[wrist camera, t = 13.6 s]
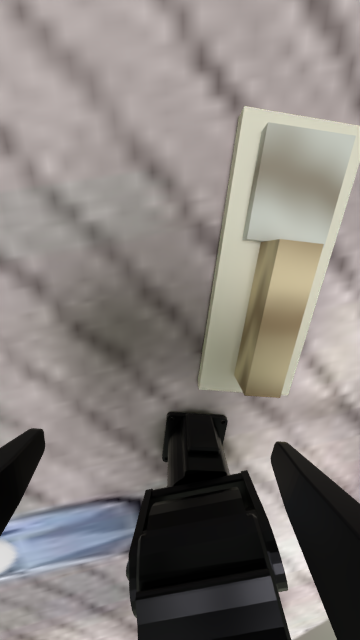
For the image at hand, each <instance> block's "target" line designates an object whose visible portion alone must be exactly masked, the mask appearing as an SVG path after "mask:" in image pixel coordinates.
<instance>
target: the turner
mask: <svg viewBox="0 0 360 640" xmlns="http://www.w3.org/2000/svg"><path fill="white" fill-rule="evenodd" d="M355 138H356V136H354V135H348V134H342V133H335V132H329V131H322V130H316V129H309V128H303V127H296V126H290V125H283V124H277V123H270V122H268V123H267V124H266V126H265V127H264V129H263V130H262V132H261V137H260V143H259V149H258V154H257V160H256V166H255V171H254V177H253V183H252V188H251V194H250V200H249V205H248V211H247V217H246V222H245V228H244V234H243V239H242V240H247V241H256V242H261V244H260V249H259V254H258V259H257V264H256V269H255V274H254V279H253V284H252V289H251V294H250V299H249V304H248V309H247V314H246V319H245V324H244V329H243V333H242V338H241V343H240V348H239V353H238V358H237V363H236V368H235V373H234V376H235V378H236V380H237V382H238V384H239V386H240V388H241V389H242V391H243V393H244V395H245V396H260V397H276V398H280V396H281V393H282V389H283V386H284V382H285V379H286V375H287V372H288V368H289V365H290V361H291V358H292V354H293V351H294V347H295V344H296V340H297V337H298V333H299V330H300V326H301V323H302V319H303V315H304V312H305V308H306V305H307V301H308V298H309V294H310V291H311V287H312V284H313V280H314V277H315V273H316V270H317V266H318V263H319V259H320V256H321V252H322V249H323V248H324V246H325V242H326V239H327V236H328V232H329V229H330V225H331V222H332V218H333V215H334V211H335V208H336V204H337V201H338V197H339V194H340V190H341V187H342V183H343V180H344V176H345V173H346V169H347V166H348V162H349V159H350V155H351V152H352V148H353V145H354V141H355Z"/></svg>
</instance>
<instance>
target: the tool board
mask: <svg viewBox="0 0 360 640" xmlns="http://www.w3.org/2000/svg"><path fill="white" fill-rule="evenodd" d="M268 122H270V123H277V124H283V125H290V126H296V127H303V128H309V129H316V130H322V131H329V132H335V133H342V134H348V135H354V136H356V138H355V141H354V145H353V148H352V152H351V155H350V159H349V162H348V166H347V169H346V173H345V176H344V180H343V183H342V187H341V190H340V194H339V197H338V201H337V204H336V208H335V211H334V215H333V218H332V222H331V225H330V229H329V232H328V236H327V239H326V242H325V246H324V248H323V249H322V252H321V256H320V259H319V263H318V266H317V270H316V273H315V277H314V280H313V284H312V287H311V291H310V294H309V298H308V301H307V305H306V308H305V312H304V315H303V319H302V323H301V326H300V330H299V333H298V337H297V340H296V344H295V347H294V351H293V354H292V358H291V361H290V365H289V368H288V372H287V375H286V379H285V382H284V386H283V389H282V393H281V395H284V396H288V393H289V390H290V387H291V384H292V380H293V377H294V374H295V371H296V367H297V364H298V361H299V358H300V354H301V351H302V348H303V345H304V341H305V338H306V335H307V332H308V328H309V325H310V322H311V319H312V315H313V312H314V309H315V306H316V302H317V299H318V296H319V293H320V289H321V286H322V283H323V280H324V276H325V273H326V270H327V267H328V263H329V260H330V257H331V254H332V250H333V247H334V244H335V241H336V237H337V234H338V231H339V228H340V224H341V221H342V218H343V215H344V211H345V208H346V205H347V202H348V199H349V195H350V192H351V189H352V186H353V182H354V179H355V176H356V173H357V169H358V166H359V163H360V126H357V125H351V124H346V123H340V122H334V121H328V120H322V119H316V118H311V117H305V116H299V115H293V114H287V113H281V112H276V111H270V110H264V109H258V108H252V107H247V106H244V108H243V110H242V112H241V114H240V116H239V119H238V126H237V132H236V139H235V145H234V151H233V158H232V164H231V171H230V177H229V183H228V190H227V196H226V203H225V209H224V216H223V222H222V228H221V235H220V241H219V248H218V254H217V260H216V267H215V273H214V280H213V286H212V293H211V299H210V305H209V312H208V318H207V325H206V331H205V337H204V344H203V350H202V357H201V363H200V370H199V376H198V387H199V389H200V390H214V391H228V392H242V393H243V391H242V389H241V388H240V386H239V384H238V382H237V380H236V378H235V376H234V373H235V368H236V363H237V358H238V353H239V348H240V343H241V338H242V333H243V329H244V324H245V319H246V314H247V309H248V304H249V299H250V294H251V289H252V284H253V279H254V274H255V269H256V264H257V259H258V254H259V249H260V244H261V242H256V241H247V240H242V239H243V234H244V228H245V222H246V217H247V211H248V205H249V200H250V194H251V188H252V183H253V177H254V171H255V166H256V160H257V154H258V149H259V143H260V137H261V132H262V130H263V129H264V127H265V126H266V124H267V123H268Z"/></svg>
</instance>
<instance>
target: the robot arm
mask: <svg viewBox="0 0 360 640" xmlns="http://www.w3.org/2000/svg"><path fill="white" fill-rule="evenodd" d="M170 417H173V418H170ZM222 420H224V421H222ZM226 427H227V418H226V417H225V416H222V415H206V414H190V413H174V412H171V413H168V414H167V420H166V429H165V438H164V446H163V455H162V459H163V461H164V462H168V479H167V487H166V488H161V489H156V490H153V489H149V490H146V491H145V495H144V499H143V501H142V505H141V508H140V512H139V516H138V520H137V524H136V528H135V532H134V536H133V539H132V543H131V547H130V551H129V561H128V563H127V567H126V576H127V578H128V580H129V591H130V602H131V607H132V611H133V614H134V616H135V617H136V618H137V625H138V640H291V637H290V634H289V630H288V626H287V623H286V619H285V615H284V612H283V608H282V604H281V601H280V597H279V593H278V592H282V591H287V590H288V585H287V580H286V576H285V571H284V568H283V564H282V560H281V557H280V554H279V550H278V547H277V544H276V541H275V538H274V535H273V532H272V529H271V526H270V524H269V521H268V518H267V516H266V513H265V511H264V509H263V506H262V504H261V502H260V499H259V497H258V495H257V492H256V490H255V488H254V485H253V483H252V480H251V478H250V476H249V473H248V471H247V470H246V471H241V473H237V474H232V475H230V473H229V469H228V465H227V461H226V458H225V454H224V450H223V446H222V445H223V440H224V436H225V431H226ZM44 450H45V439H44V431H43V429H36V428H32V429H29V430H27V431H26V432H24V433H23V434H21V435H19V436H18V437H16V438H15V439H13V440H12V441H10V442H9V443H7V444H5V445H4V446H2V447H1V448H0V536H1V534H2V532H3V531H4V529H5V527H6V526H7V524H8V522H9V520H10V519H11V517H12V515H13V513H14V512H15V510H16V508H17V506H18V505H19V503H20V501H21V499H22V497H23V495H24V493H25V491H26V489H27V487H28V484H29V482H30V480H31V478H32V476H33V474H34V472H35V470H36V468H37V465H38V463H39V461H40V459H41V457H42V455H43V453H44ZM271 464H272V467H273V471H274V474H275V477H276V480H277V484H278V487H279V490H280V493H281V497H282V500H283V503H284V506H285V509H286V512H287V514H288V517H289V520H290V522H291V525H292V527H293V530H294V532H295V535H296V537H297V540H298V542H299V545H300V547H301V550H302V552H303V555H304V557H305V560H306V562H307V565H308V568H309V570H310V573H311V575H312V578H313V580H314V583H315V585H316V588H317V590H318V593H319V595H320V598H321V600H322V603H323V605H324V608H325V610H326V613H327V615H328V618H329V620H330V623H331V625H332V628H333V630H334V633H335V635H336V638H337V640H360V503H358V502H357V501H356V500H355V499H354V498H352V497H351V496H350V495H349V494H348V493H346V492H345V491H344V490H343V489H342V488H341V487H339V486H338V485H337V484H336V483H335V482H333V481H332V480H331V479H330V478H329V477H328V476H326V475H325V474H324V473H323V472H322V471H320V470H319V469H318V468H317V467H316V466H314V465H313V464H312V463H311V462H310V461H309V460H307V459H306V458H305V457H304V456H303V455H301V454H300V453H299V452H298V451H297V450H296V449H294V448H293V447H292V446H291V445H290V444H288V443H287V442H276V443H275V445H274V448H273V451H272V455H271Z"/></svg>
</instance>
